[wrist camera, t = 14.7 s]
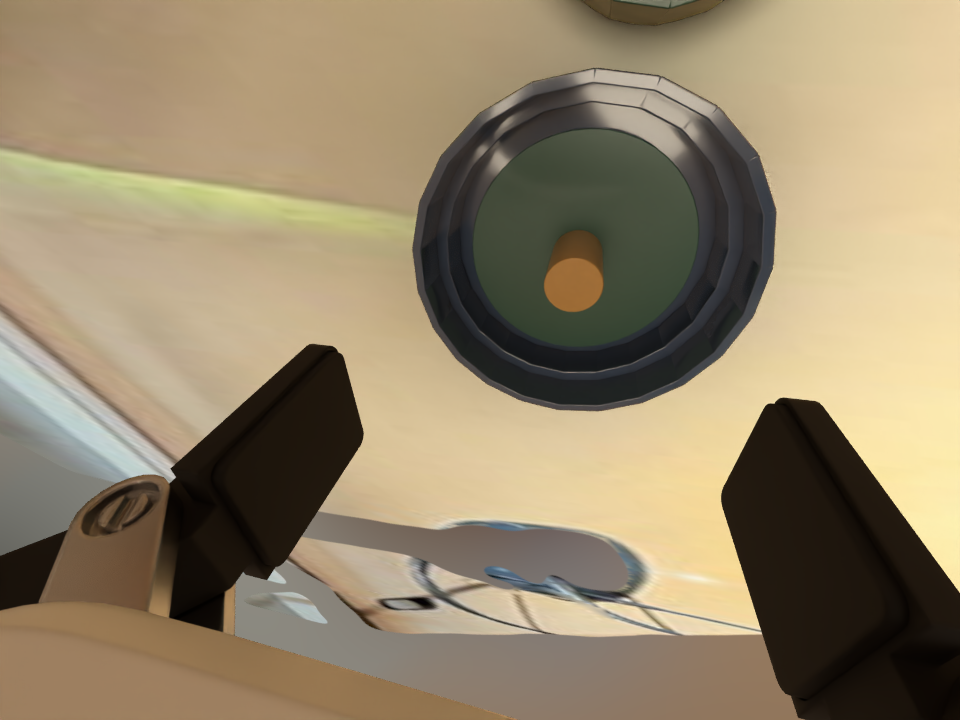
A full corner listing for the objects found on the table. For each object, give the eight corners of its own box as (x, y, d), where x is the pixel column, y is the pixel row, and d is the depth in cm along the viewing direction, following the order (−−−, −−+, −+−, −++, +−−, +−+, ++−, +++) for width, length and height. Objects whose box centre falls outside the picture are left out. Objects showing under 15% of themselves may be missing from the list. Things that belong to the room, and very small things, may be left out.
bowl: (455, 348, 32) (430, 393, 27) (434, 82, 22) (389, 78, 17) (689, 373, 28) (708, 430, 24) (791, 64, 18) (859, 53, 14)
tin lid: (479, 330, 30) (456, 376, 25) (472, 129, 23) (437, 138, 18) (665, 348, 27) (680, 403, 22) (727, 124, 20) (770, 133, 15)
